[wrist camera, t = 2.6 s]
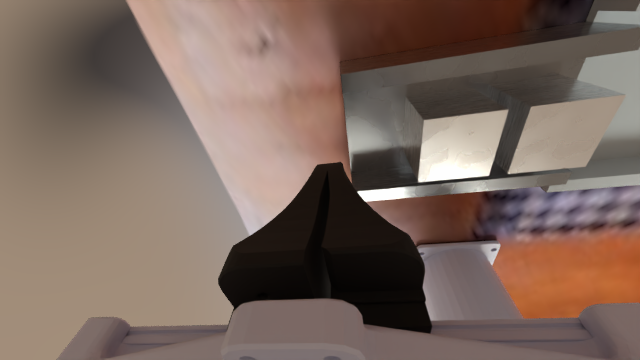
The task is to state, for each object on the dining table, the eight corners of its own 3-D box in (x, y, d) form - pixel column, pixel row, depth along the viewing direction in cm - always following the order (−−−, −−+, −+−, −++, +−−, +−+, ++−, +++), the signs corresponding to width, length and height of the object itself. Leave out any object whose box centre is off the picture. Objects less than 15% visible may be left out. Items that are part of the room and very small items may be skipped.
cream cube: (460, 144, 17) (489, 175, 14) (403, 150, 18) (418, 182, 15) (471, 87, 15) (508, 109, 12) (405, 96, 16) (423, 120, 12)
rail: (530, 157, 19) (565, 184, 16) (351, 175, 21) (354, 202, 18) (585, 21, 14) (651, 25, 11) (339, 62, 16) (340, 74, 13)
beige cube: (536, 135, 17) (585, 166, 13) (475, 142, 17) (507, 173, 14) (560, 74, 14) (626, 94, 11) (488, 84, 15) (531, 106, 12)
